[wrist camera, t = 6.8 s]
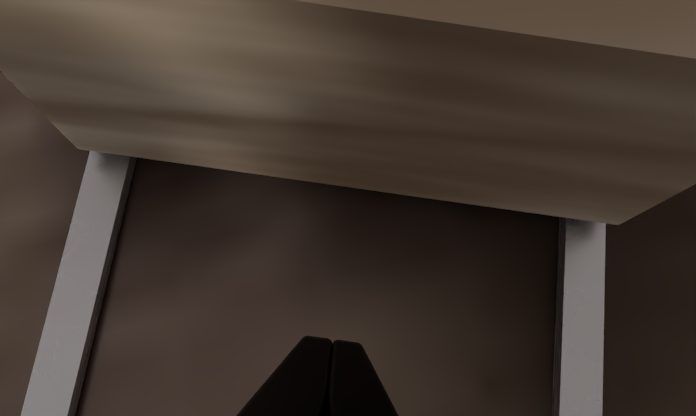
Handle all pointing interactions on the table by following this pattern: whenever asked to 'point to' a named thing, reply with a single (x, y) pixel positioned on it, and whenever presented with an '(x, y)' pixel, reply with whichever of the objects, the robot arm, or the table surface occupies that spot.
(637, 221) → the table surface
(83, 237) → the steel handle
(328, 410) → the robot arm
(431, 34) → the toy sofa
